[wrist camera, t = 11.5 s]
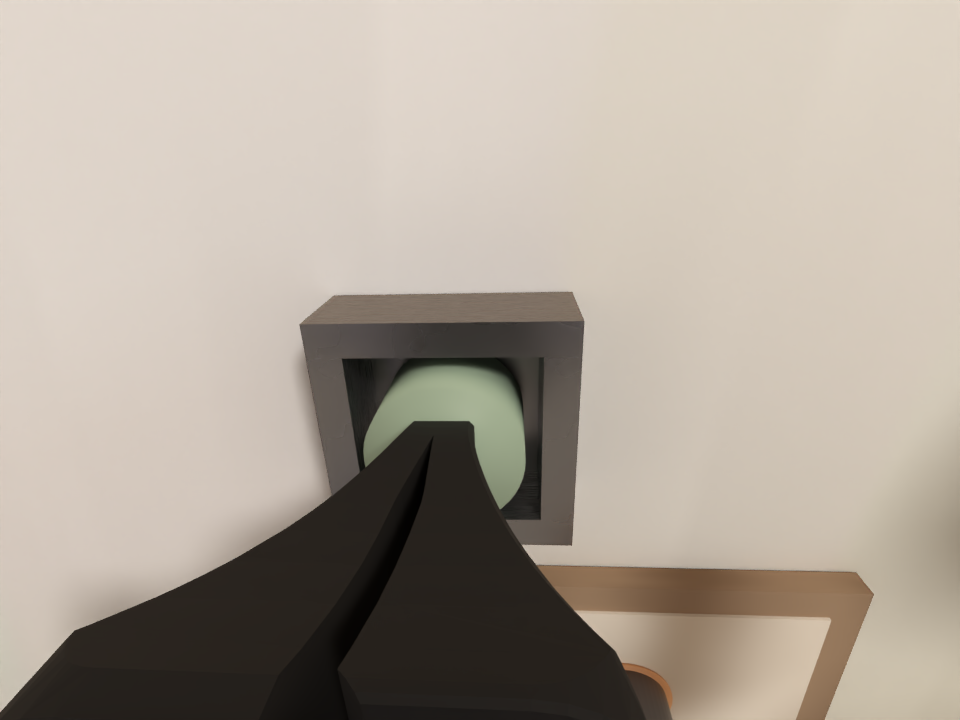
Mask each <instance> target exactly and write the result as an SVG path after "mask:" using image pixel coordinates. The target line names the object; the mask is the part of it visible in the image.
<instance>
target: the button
mask: <svg viewBox="0 0 960 720" xmlns="http://www.w3.org/2000/svg"><path fill="white" fill-rule="evenodd" d="M413 421H470V422H471V423H472V424H473V425H474V432H475V448H476V452H477V456H478V459H479V462H480V465H481V468H482V471H483V473H484V476H485V479H486V481H487V483H488V486H489V488H490V490H491V492H492V495H493V497H494V499H495V501H496V503H497V505H498V507H499V509H501V508H503V507H504V506H505V505H506V504H507V503H508V502H509V501H510V500H511V499H512V497H513V496H514V495H515V494H516V492H517V490H518V489H519V487H520V485H521V482H522V480H523V476H524V472H525V464H526V458H525V435H524V412H523V399H522V395H521V391H520V388H519V386H518V384H517V382H516V380H515V378H514V377H513V375H512V374H511V373H510V371H509V370H508V369H507V368H506V367H505V366H504V365H503V364H502V363H501V362H499V361H498V360H497V359H496V358H411V359H409V360H408V361H407V362H406V363H405V364H404V365H403V366H402V367H401V368H400V370H399V371H398V372H397V374H396V376H395V377H394V379H393V381H392V383H391V385H390V387H389V389H388V391H387V393H386V395H385V397H384V399H383V401H382V403H381V405H380V407H379V408H378V410H377V412H376V414H375V416H374V418H373V420H372V422H371V424H370V426H369V429H368V431H367V433H366V437H365V441H364V450H363V453H364V462H365V467H367V466H368V465H369V464H370V463H371V462H372V461H373V460H374V459H375V458H376V457H377V456H378V455H379V454H381V453H382V452H383V451H384V450H385V449H386V448H387V447H388V446H389V445H390V444H391V443H392V442H393V441H394V440H395V439H396V438H397V437H398V436H399V435H400V434H401V433H402V432H403V431H404V430H405V429H406V428H407V427H408V426H409V425H410V424H411V423H412V422H413Z"/></svg>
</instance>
